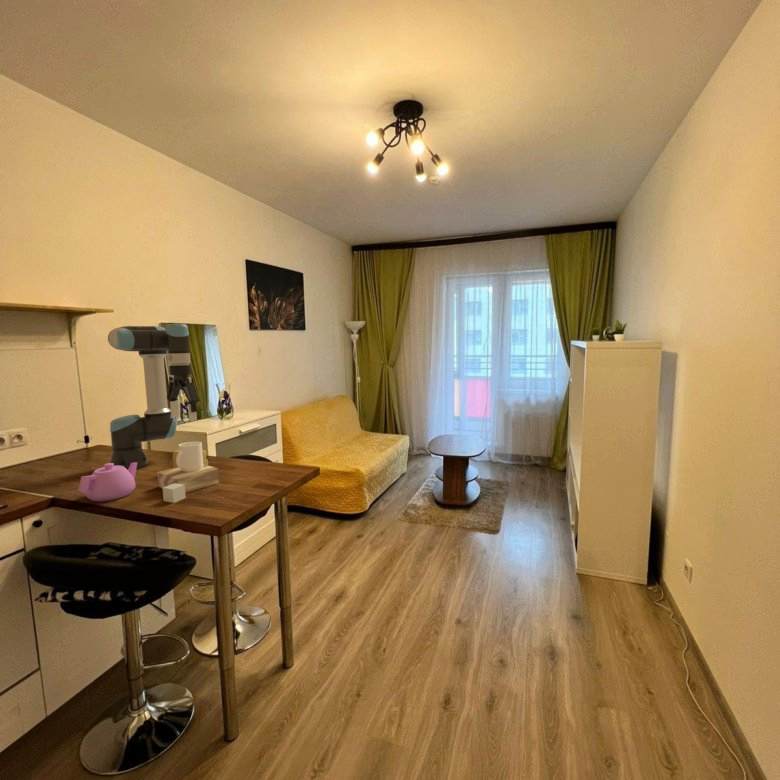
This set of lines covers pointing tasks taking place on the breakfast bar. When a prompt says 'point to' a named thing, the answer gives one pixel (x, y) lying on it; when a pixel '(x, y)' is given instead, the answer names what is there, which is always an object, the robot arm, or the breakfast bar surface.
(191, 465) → the mug
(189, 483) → the oak block
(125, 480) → the teapot
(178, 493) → the beige block
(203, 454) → the cheese
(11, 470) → the breakfast bar surface
